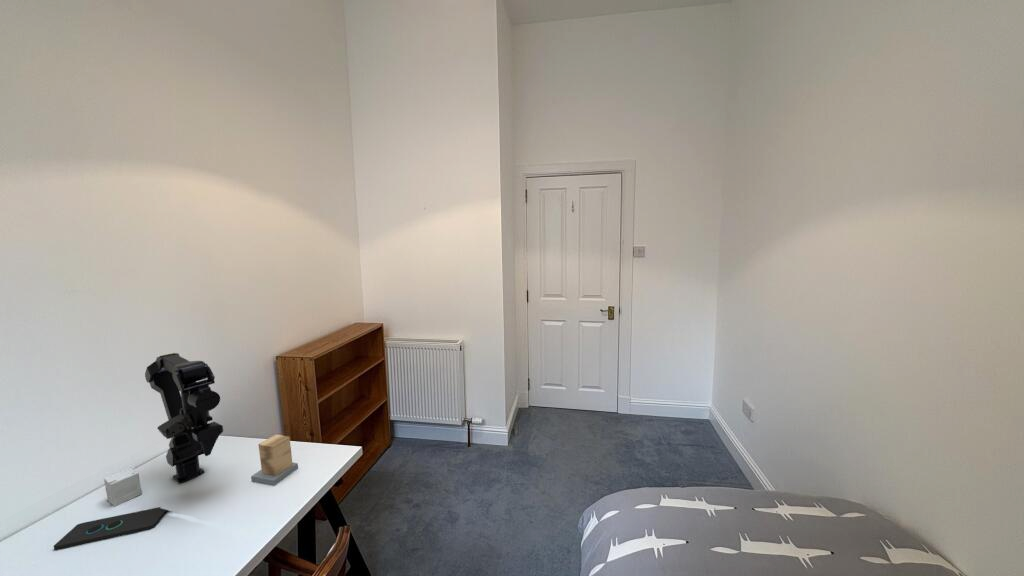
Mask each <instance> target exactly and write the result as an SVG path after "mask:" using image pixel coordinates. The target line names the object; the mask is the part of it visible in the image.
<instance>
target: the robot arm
mask: <svg viewBox="0 0 1024 576" xmlns="http://www.w3.org/2000/svg"><path fill="white" fill-rule="evenodd" d="M144 377H145V381H146V383H149V385H150V388H151V389H153V390H154V391H155V392H157V393H159V394H160V397H161V401H162V404H163V407H164V409H165V413H166V416H167V420H166V421H165V422H163V423H162V424H160V425H158V427H157V428H156V429H157V430H158V432H159V433H160V434H161V435H162V436H163V437H164V438H166V440H169V443H168V447H169V448H168V450H167V452H166V455H165V457H166V463H167V464H168V465H169V466H171V467H175V471H176V474H174V475H172V478H173V479H174V480H175V481H176V482H177V483H178V484H182V483H185V482H187V481H189V480H191V479H194V478H196V477H198V476H200V475H202V474H205V470H204V469H203V468H201V466H200V459H199V457H200V456H202V455H204V456H205V457H208V456H210V455H211V453H212V451H213V449H214V447H215V445H216V442H217V440H218V439H219V436H221V434H222V433H224V426H223V425H222V424H220V423H218V422H216V421H213V416H211V415H210V411H212V410H214V409H216V408H217V406H218V405H219V404H220V402H221V395H220V394H219V393H218V392H216V391H214V390H212V389H211V387H210V386H211V385H215V383H216V382H215V378H216V377H215V374H214V373H213V371H212V369H211V366H209V365H208V364H207V363H206V362H204V361H203V360H191V361H190V360H188V359H186V358H184V357H182V356H180V354H179V353H178V352H173V353H168V354H163V355H159V356H157V357H156V359H155V361H154V362H152V363H151V364H149V365H148V366H147V367H146V368H145V372H144ZM210 421H211V422H210ZM208 422H209V423H208Z"/></svg>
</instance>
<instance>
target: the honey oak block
mask: <svg viewBox="0 0 1024 576" xmlns="http://www.w3.org/2000/svg"><path fill="white" fill-rule="evenodd" d="M257 446H258V452H259V459H260V468H261V469H262V473H264V474H268V475H273V476H277V475H279V474H280V473H281V472H283V471H284V470H286V469H287V468H289V467H290V466H292V465H293V463H294V462H293V455H292V446H291V437H290V436H287V435H282V434H273V435H272V436H270V437H269V438H267V439H266V440H264V441H262V442H260V443H258V445H257ZM292 462H293V463H292ZM261 469H260V470H261Z"/></svg>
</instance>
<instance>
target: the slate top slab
mask: <svg viewBox="0 0 1024 576" xmlns="http://www.w3.org/2000/svg"><path fill="white" fill-rule="evenodd" d="M292 463H293V465H292V466H290V467H289V468H287V469H286V470H284V471H283V472H281V473H280V474H279V475H277V476H273V475H268V474H264V473H262V469H260V470H258V471H257V472H255V473H254V474H252V475H251V477H250V480H251V483H256V484H261V485H262V484H263V485H267V486H271V487H275V486H276V485H278V484H279V483H281V482H282V481H283V480H284V479H286V478H288V477H289V476H290V475H291V474H293V473H294V472H295V471H297V470H298V469H299V464H298V463H297V462H293V461H292Z"/></svg>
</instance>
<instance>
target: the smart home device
mask: <svg viewBox="0 0 1024 576" xmlns="http://www.w3.org/2000/svg"><path fill="white" fill-rule="evenodd" d="M168 512H169V509H165V508H162V507H161V506H160V507H159V506H158V507H153V508H148V509H144V510H139V511H133V512H130V513H124V514H119V515H115V516H111V517H110V516H108V517H105V518H100V519H94V520H89V521H84V522H82V523H78V524H76V525H75V526H74V527H73V528H72V529H71V530H70V531H68V533H66V534H65V535H64V536H62V537H61V538H60V540H58V541H57V542H56V543H55V544H54V545H53V551H59V550H65V549H69V548H73V547H77V546H83V545H87V544H91V543H97V542H101V541H104V540H109V539H114V538H119V537H124V536H128V535H132V534H137V533H142V532H146V531H150V530H153V529H155V528H156V527H157V525H159V523H160V522H161V521H162V520H163V518H164V517H165V516H166V515H167V513H168Z"/></svg>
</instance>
